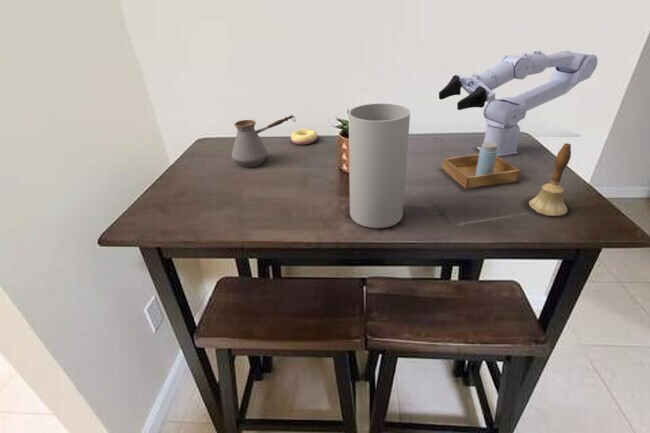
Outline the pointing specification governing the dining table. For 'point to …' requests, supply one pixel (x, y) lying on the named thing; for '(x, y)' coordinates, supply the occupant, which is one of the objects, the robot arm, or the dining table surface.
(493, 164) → the shaker
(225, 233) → the dining table surface
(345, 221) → the dining table surface
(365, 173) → the cylinder vase
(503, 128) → the robot arm
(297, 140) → the donut
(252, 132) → the coffee pot
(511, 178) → the wooden tray
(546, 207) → the hand bell
